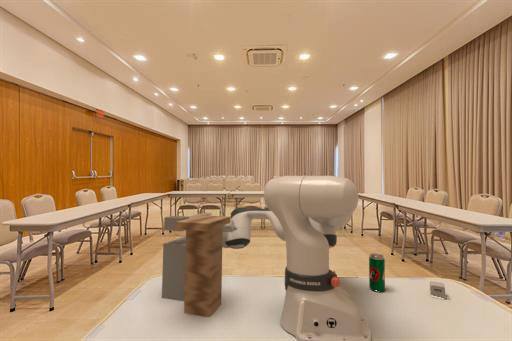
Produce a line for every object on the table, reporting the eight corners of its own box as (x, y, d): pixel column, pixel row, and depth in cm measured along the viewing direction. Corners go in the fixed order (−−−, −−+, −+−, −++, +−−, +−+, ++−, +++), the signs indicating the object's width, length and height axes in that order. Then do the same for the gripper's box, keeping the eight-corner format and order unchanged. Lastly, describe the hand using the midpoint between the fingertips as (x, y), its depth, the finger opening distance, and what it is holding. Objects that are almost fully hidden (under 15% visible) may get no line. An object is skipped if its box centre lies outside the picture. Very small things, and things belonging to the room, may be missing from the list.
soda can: (386, 293, 90) (386, 257, 90) (371, 291, 91) (370, 256, 91) (382, 287, 95) (382, 253, 95) (367, 286, 96) (367, 252, 96)
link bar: (214, 220, 108) (215, 210, 108) (180, 231, 83) (180, 218, 83) (201, 219, 110) (201, 210, 110) (164, 230, 84) (164, 217, 85)
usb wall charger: (430, 297, 87) (430, 284, 87) (429, 290, 93) (429, 278, 93) (445, 299, 85) (445, 287, 85) (443, 292, 91) (443, 280, 91)
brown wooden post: (229, 299, 84) (230, 216, 85) (207, 325, 68) (209, 223, 70) (200, 295, 86) (202, 215, 88) (172, 319, 71) (175, 221, 72)
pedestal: (206, 282, 98) (207, 236, 98) (184, 300, 82) (185, 245, 83) (187, 280, 100) (188, 234, 101) (161, 297, 84) (163, 243, 85)
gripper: (237, 237, 112) (226, 225, 101) (193, 234, 117) (179, 222, 106) (239, 223, 115) (230, 210, 104) (197, 221, 121) (183, 208, 109)
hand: (204, 216), depth 105 cm, fingers closed on link bar, 3 cm apart
